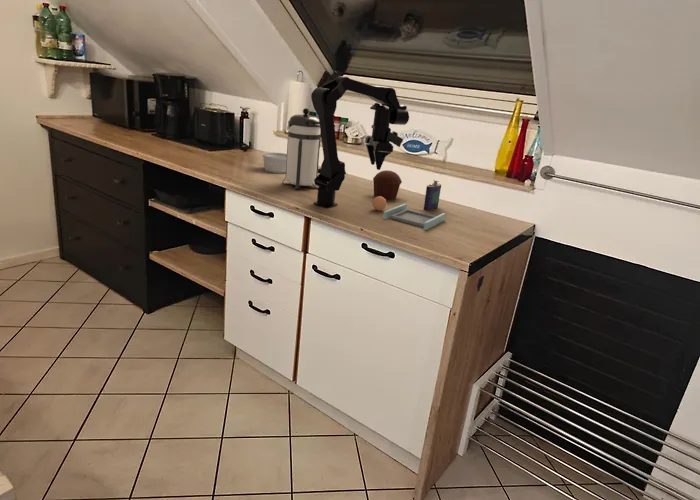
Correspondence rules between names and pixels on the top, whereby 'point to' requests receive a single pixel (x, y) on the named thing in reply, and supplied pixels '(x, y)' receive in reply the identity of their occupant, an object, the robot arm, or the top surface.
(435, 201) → the flask
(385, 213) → the acrylic walls
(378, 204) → the ball
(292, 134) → the coffee press
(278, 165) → the ramekin
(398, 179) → the muffin
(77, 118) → the top surface
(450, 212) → the top surface
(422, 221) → the dish
